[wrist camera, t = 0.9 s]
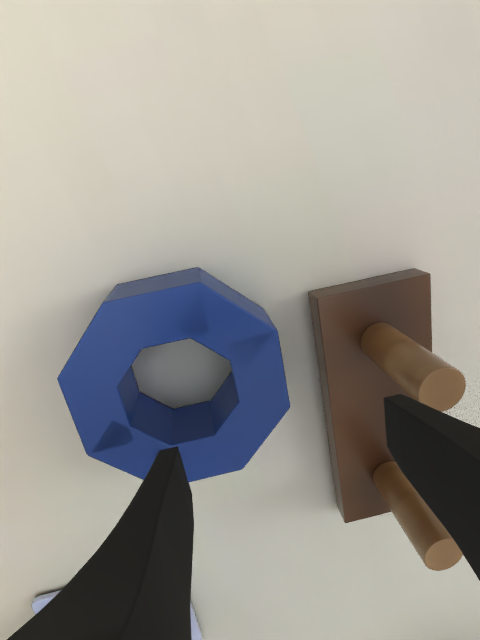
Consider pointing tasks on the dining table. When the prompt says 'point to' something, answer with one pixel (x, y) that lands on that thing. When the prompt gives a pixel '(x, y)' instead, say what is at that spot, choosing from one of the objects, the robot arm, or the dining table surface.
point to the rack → (381, 397)
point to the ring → (156, 418)
